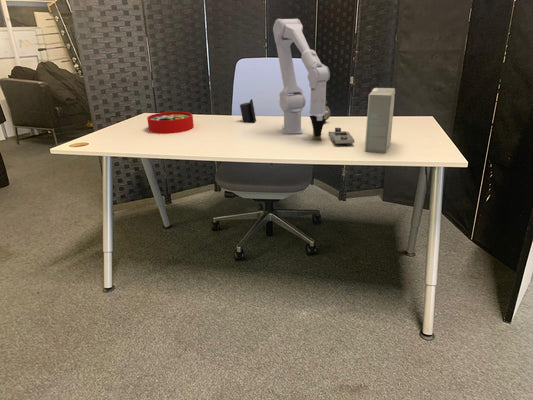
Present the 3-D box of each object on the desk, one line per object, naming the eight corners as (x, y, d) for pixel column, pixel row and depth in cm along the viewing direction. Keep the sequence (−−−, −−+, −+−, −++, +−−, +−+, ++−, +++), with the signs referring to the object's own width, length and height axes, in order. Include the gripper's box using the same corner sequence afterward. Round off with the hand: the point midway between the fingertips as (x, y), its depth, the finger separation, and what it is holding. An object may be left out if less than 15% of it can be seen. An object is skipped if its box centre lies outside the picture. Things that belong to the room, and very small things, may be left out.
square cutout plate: (328, 134, 161) (328, 127, 160) (345, 134, 161) (345, 126, 160) (335, 146, 145) (335, 138, 144) (354, 146, 145) (354, 138, 144)
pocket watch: (310, 124, 179) (310, 102, 175) (314, 120, 187) (314, 99, 183) (327, 125, 177) (328, 102, 173) (331, 121, 184) (332, 99, 180)
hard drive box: (370, 140, 152) (374, 87, 144) (390, 142, 149) (396, 88, 141) (363, 151, 139) (368, 93, 131) (386, 153, 136) (392, 94, 128)
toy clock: (188, 110, 188) (196, 118, 171) (189, 122, 191) (197, 131, 173) (145, 114, 182) (148, 122, 165) (147, 126, 185) (150, 136, 167)
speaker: (260, 120, 189) (257, 98, 185) (254, 123, 184) (251, 101, 180) (246, 120, 192) (243, 99, 188) (240, 123, 188) (237, 101, 184)
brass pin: (312, 137, 157) (312, 122, 154) (320, 137, 157) (320, 122, 154) (313, 139, 154) (313, 124, 151) (321, 139, 154) (321, 124, 151)
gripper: (331, 103, 142) (329, 139, 148) (326, 96, 156) (324, 130, 161) (311, 103, 142) (310, 140, 148) (308, 97, 156) (307, 130, 161)
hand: (316, 135), depth 155 cm, fingers closed on brass pin, 3 cm apart
